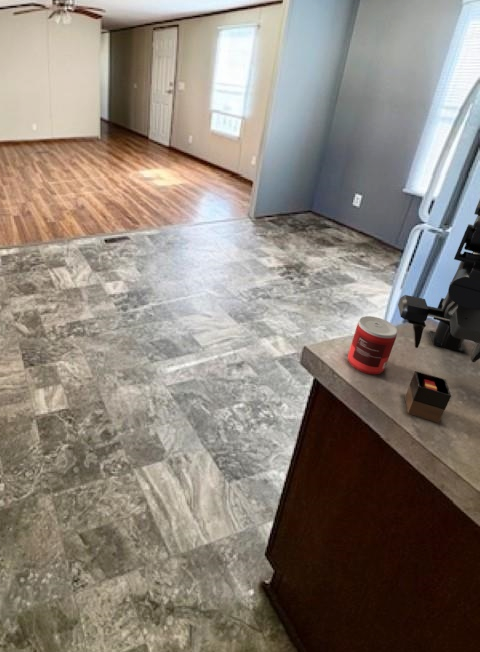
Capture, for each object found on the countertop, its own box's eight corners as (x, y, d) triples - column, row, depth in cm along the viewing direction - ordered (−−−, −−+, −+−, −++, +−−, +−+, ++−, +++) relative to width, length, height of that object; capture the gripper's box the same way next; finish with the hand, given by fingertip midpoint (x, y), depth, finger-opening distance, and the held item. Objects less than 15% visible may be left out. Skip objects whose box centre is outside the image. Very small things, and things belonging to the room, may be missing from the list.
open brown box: (409, 384, 89) (414, 371, 88) (439, 393, 87) (445, 379, 86) (413, 400, 85) (418, 386, 84) (444, 410, 83) (451, 395, 81)
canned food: (373, 354, 104) (386, 316, 99) (391, 376, 96) (405, 337, 92) (341, 352, 104) (352, 314, 100) (356, 374, 97) (369, 334, 93)
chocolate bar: (419, 387, 88) (423, 378, 87) (430, 391, 87) (434, 381, 86) (422, 400, 85) (426, 390, 84) (434, 403, 84) (438, 394, 83)
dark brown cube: (404, 397, 91) (409, 384, 89) (434, 406, 88) (439, 393, 87) (407, 413, 86) (413, 400, 85) (438, 423, 84) (444, 410, 83)
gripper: (417, 294, 76) (392, 362, 82) (557, 322, 68) (517, 396, 74) (409, 268, 85) (387, 332, 91) (532, 291, 77) (498, 359, 83)
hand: (443, 353), depth 85 cm, fingers open, 9 cm apart
